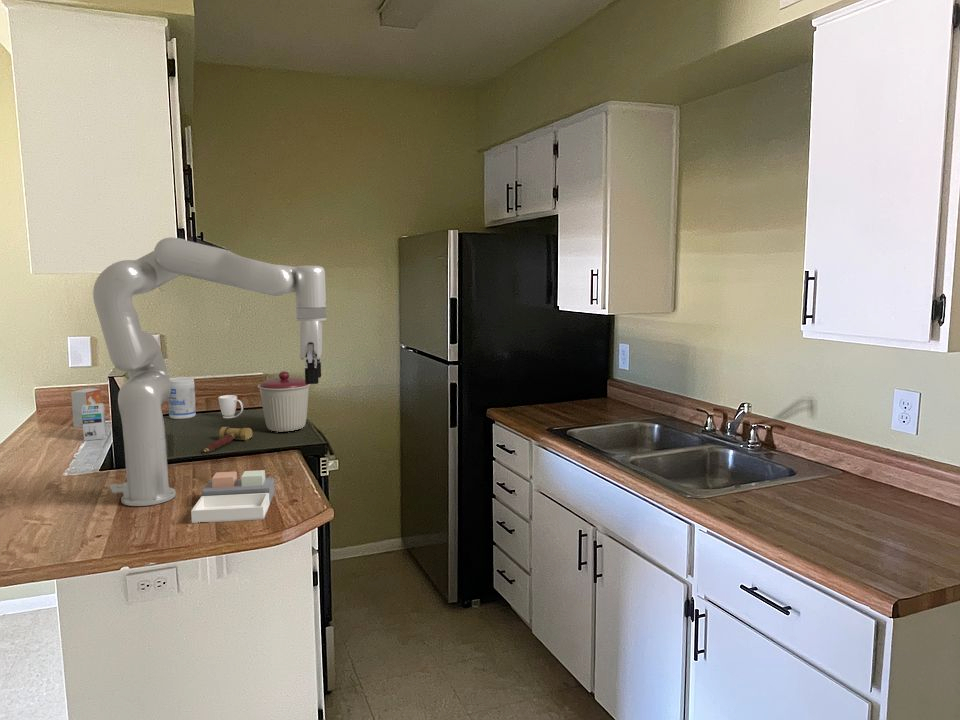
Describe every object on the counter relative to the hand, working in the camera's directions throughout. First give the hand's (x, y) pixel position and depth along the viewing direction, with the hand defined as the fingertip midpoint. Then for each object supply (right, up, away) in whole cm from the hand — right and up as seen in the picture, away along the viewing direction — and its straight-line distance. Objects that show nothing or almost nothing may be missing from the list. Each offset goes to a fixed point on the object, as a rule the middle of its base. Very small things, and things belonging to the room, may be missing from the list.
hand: (313, 380), depth 186 cm
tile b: (-14, -26, -3) cm, 30 cm away
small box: (-102, -19, +80) cm, 131 cm away
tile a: (-21, -26, -4) cm, 34 cm away
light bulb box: (-90, -21, +62) cm, 111 cm away
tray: (-16, -31, -14) cm, 38 cm away
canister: (-26, -20, +71) cm, 78 cm away
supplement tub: (-72, -17, +93) cm, 119 cm away
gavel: (-41, -23, +49) cm, 68 cm away
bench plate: (-18, -30, -4) cm, 35 cm away
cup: (-53, -17, +92) cm, 107 cm away
